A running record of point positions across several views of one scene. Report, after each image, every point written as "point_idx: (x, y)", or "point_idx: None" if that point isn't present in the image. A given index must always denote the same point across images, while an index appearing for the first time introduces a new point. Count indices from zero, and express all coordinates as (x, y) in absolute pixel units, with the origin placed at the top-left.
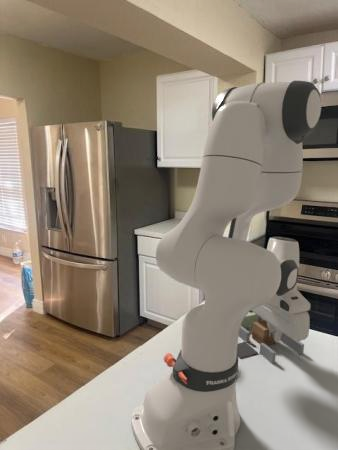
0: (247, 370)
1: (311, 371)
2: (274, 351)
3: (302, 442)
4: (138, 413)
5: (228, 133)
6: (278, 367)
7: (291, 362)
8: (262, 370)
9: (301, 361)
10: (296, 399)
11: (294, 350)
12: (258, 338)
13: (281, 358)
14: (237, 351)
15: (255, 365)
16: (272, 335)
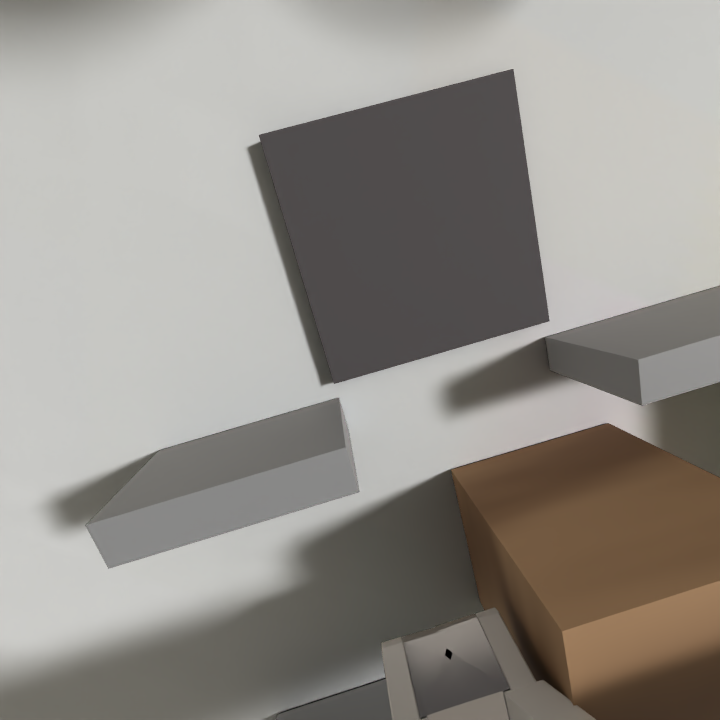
0: (24, 132)
1: (43, 716)
2: (135, 559)
3: None
4: None
5: None
6: (95, 486)
7: (175, 617)
8: (35, 310)
9: (188, 693)
10: None
11: (340, 697)
12: (542, 474)
13: (240, 561)
14: (385, 150)
15: (127, 270)
16: (456, 672)
